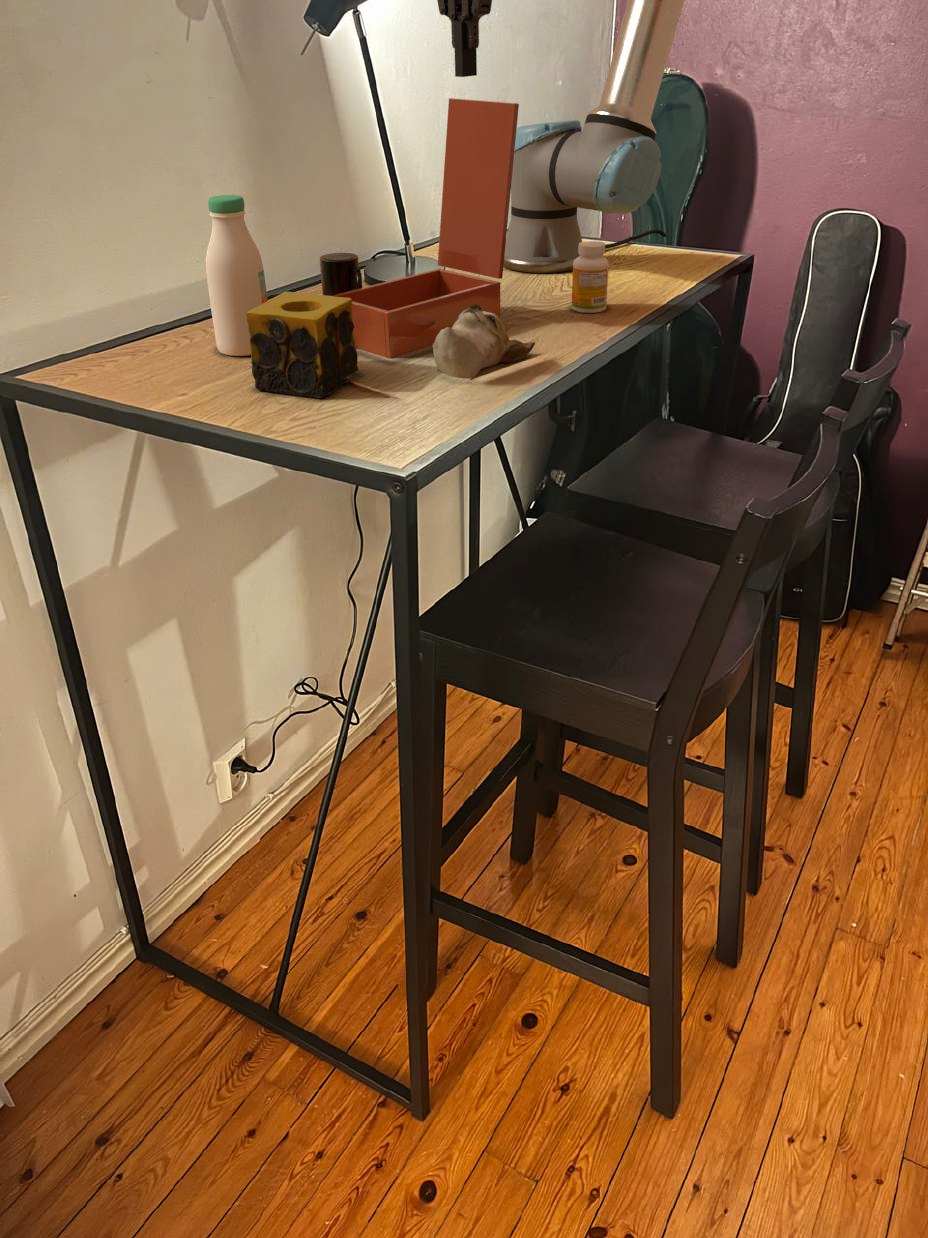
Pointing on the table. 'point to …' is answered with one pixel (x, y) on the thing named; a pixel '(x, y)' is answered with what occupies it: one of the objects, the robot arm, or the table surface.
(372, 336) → the reddish-brown box
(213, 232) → the milk bottle
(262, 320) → the candle
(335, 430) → the table surface
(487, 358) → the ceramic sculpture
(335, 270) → the silver-capped dark cylinder
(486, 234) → the lid
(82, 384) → the table surface
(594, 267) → the supplement bottle
